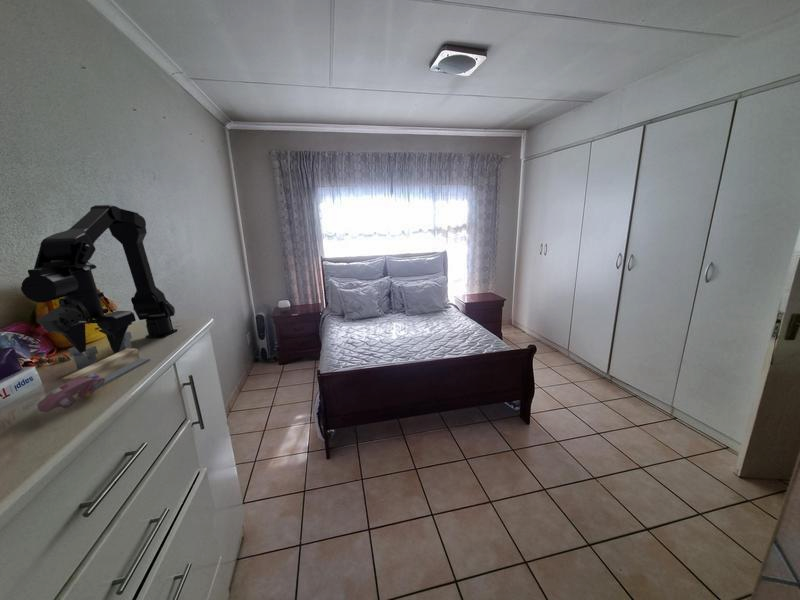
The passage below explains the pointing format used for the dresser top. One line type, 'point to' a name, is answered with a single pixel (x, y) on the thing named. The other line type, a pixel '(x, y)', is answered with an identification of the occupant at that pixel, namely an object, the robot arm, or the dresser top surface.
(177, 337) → the dresser top surface
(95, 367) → the birch rail
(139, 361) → the slate mat
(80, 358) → the metal standards
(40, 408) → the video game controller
